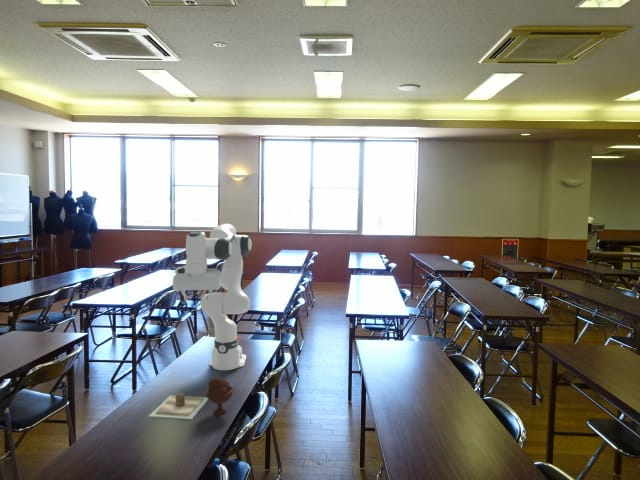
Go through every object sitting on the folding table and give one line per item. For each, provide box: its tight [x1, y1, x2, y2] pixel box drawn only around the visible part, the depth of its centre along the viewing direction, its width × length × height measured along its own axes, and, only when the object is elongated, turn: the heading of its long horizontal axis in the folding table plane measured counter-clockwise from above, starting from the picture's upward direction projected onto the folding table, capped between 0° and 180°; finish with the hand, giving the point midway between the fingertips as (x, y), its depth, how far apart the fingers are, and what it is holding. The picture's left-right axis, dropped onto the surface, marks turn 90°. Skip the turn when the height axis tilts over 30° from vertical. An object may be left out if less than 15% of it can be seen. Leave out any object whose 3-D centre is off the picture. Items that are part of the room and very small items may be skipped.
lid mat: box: [148, 394, 209, 420], centre depth 175 cm, size 18×18×1 cm
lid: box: [156, 392, 203, 416], centre depth 175 cm, size 14×14×5 cm
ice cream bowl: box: [205, 376, 234, 416], centre depth 171 cm, size 11×11×15 cm
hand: (197, 299), depth 184 cm, fingers open, 8 cm apart
